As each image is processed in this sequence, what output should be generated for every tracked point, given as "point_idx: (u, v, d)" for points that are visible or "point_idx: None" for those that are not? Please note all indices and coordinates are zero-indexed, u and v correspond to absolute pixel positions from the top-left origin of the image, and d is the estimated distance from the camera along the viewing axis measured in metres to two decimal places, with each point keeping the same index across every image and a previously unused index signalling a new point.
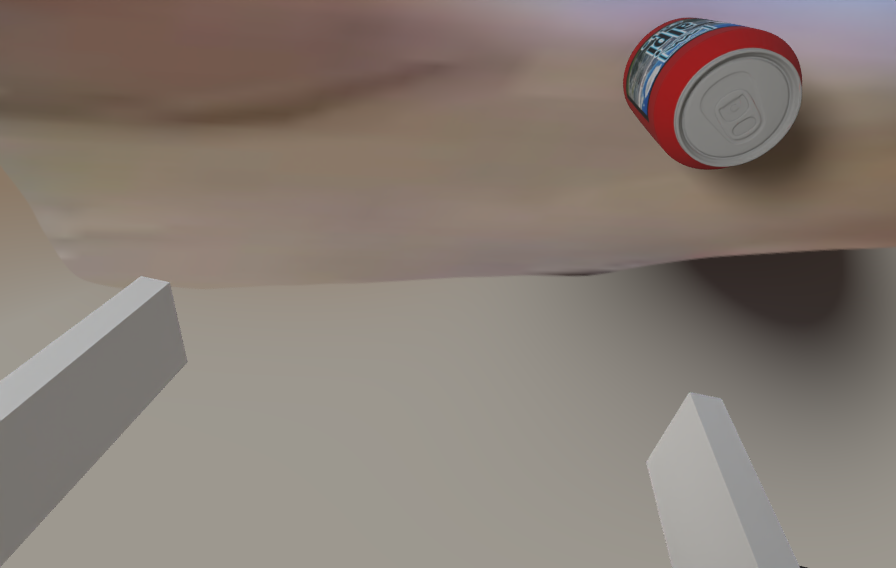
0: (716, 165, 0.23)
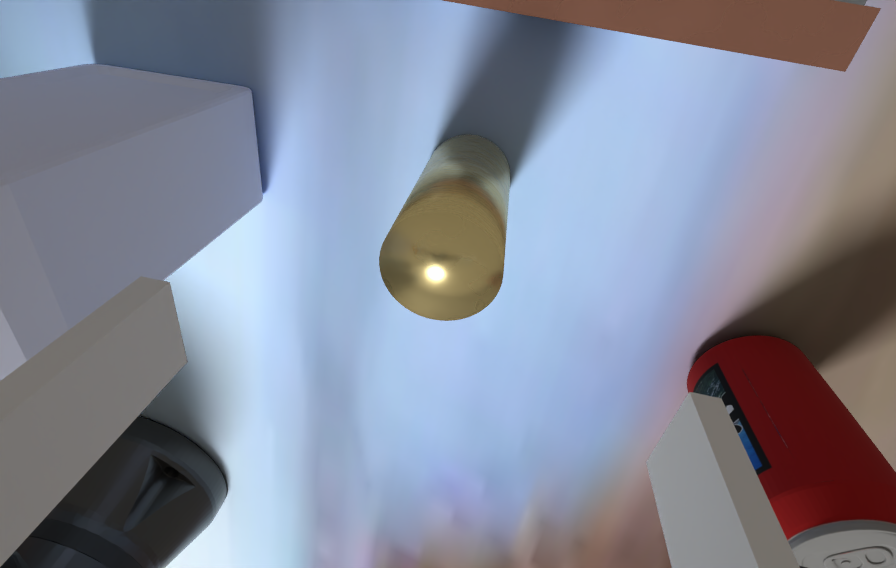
0: None
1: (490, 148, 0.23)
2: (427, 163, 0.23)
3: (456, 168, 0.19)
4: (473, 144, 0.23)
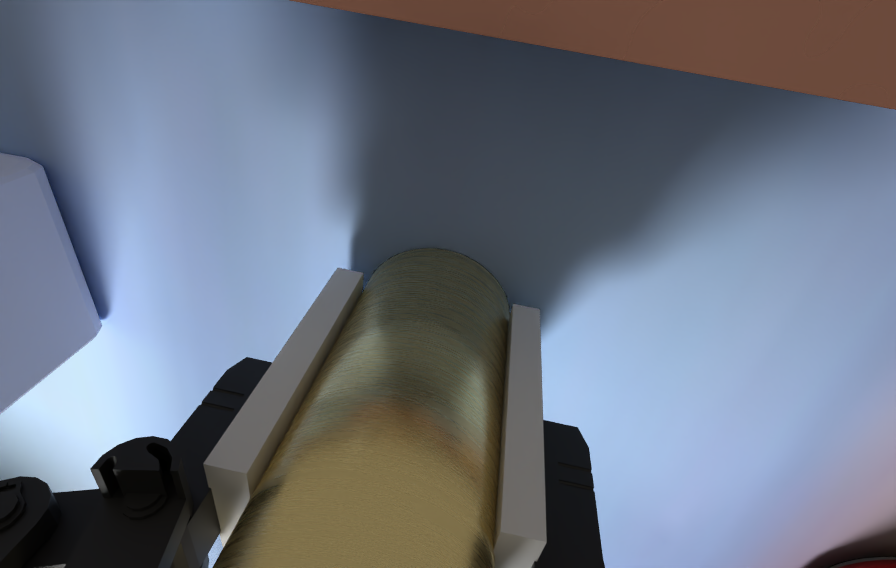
0: None
1: (470, 284, 0.12)
2: (353, 309, 0.12)
3: (384, 385, 0.09)
4: (437, 281, 0.12)
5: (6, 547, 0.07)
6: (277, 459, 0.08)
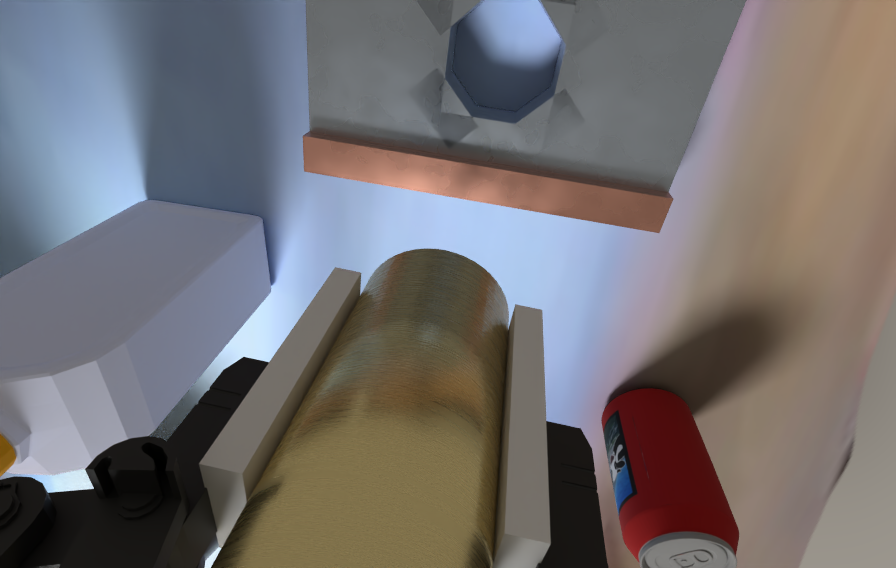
0: None
1: (469, 284, 0.12)
2: (352, 310, 0.12)
3: (383, 385, 0.09)
4: (436, 282, 0.12)
5: (1, 547, 0.06)
6: (276, 459, 0.08)
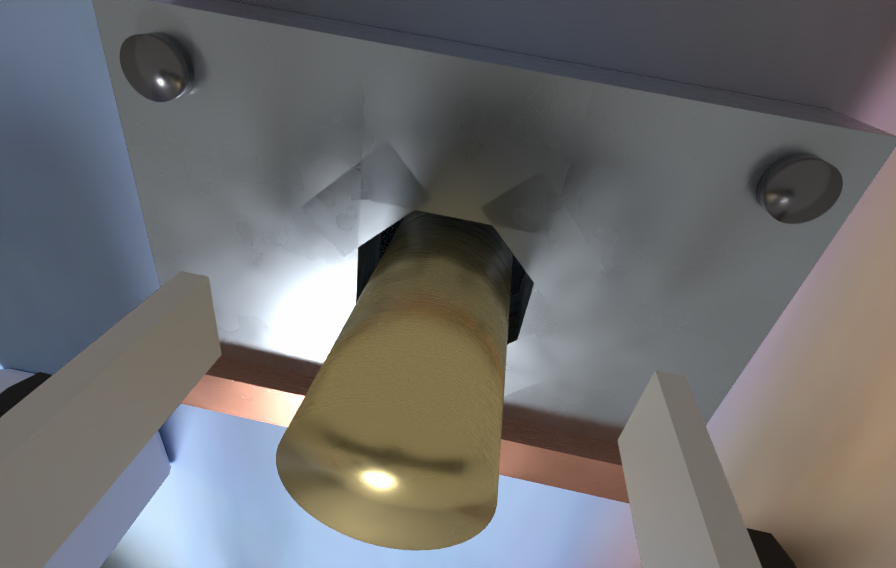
0: None
1: None
2: None
3: (424, 273, 0.12)
4: None
5: None
6: (350, 320, 0.11)
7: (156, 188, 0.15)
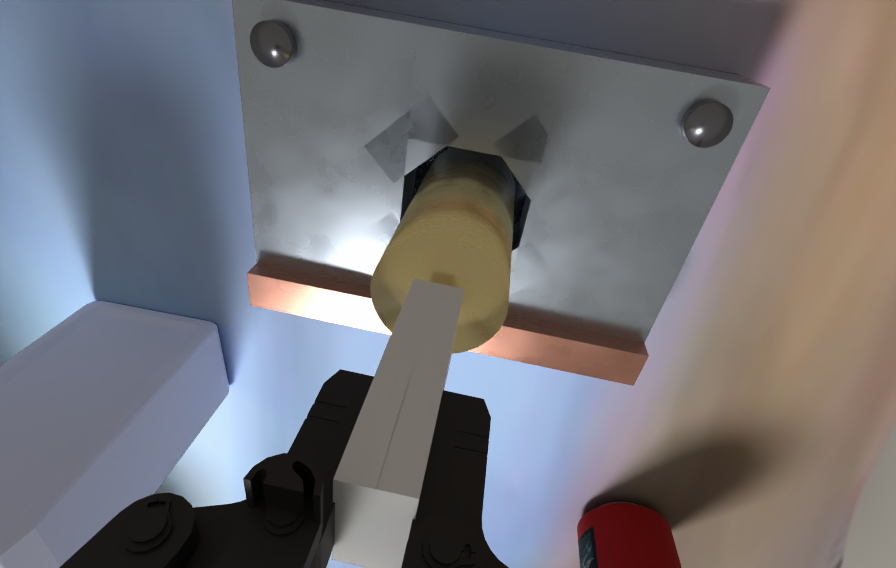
0: None
1: (493, 158, 0.21)
2: (425, 175, 0.21)
3: (456, 182, 0.18)
4: (475, 154, 0.21)
5: None
6: (408, 210, 0.17)
7: (259, 133, 0.20)
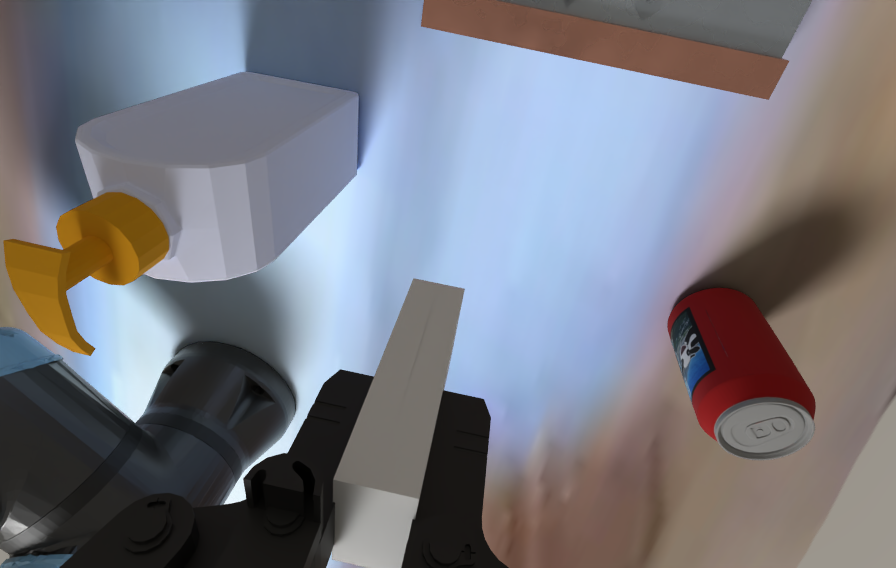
0: (808, 441, 0.29)
1: None
2: None
3: None
4: None
5: None
6: None
7: None
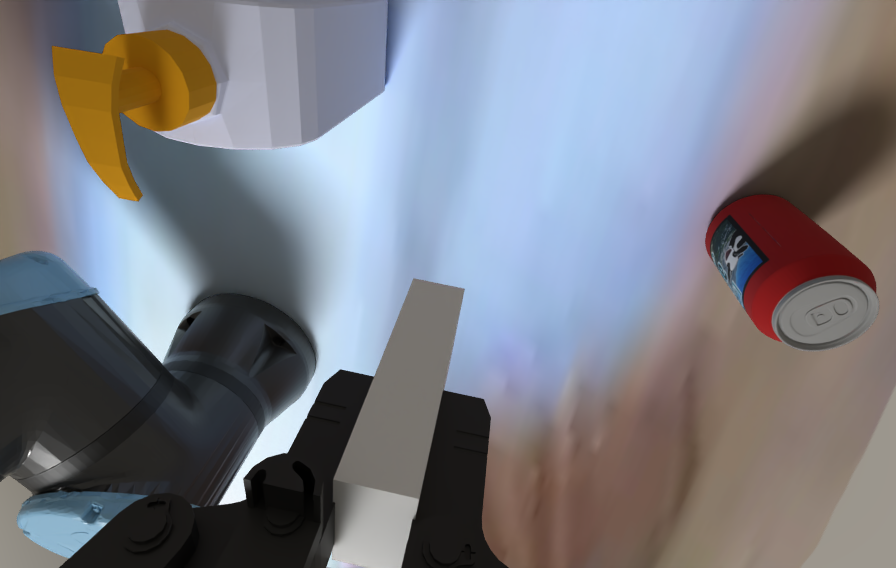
0: (871, 323, 0.28)
1: None
2: None
3: None
4: None
5: None
6: None
7: None
